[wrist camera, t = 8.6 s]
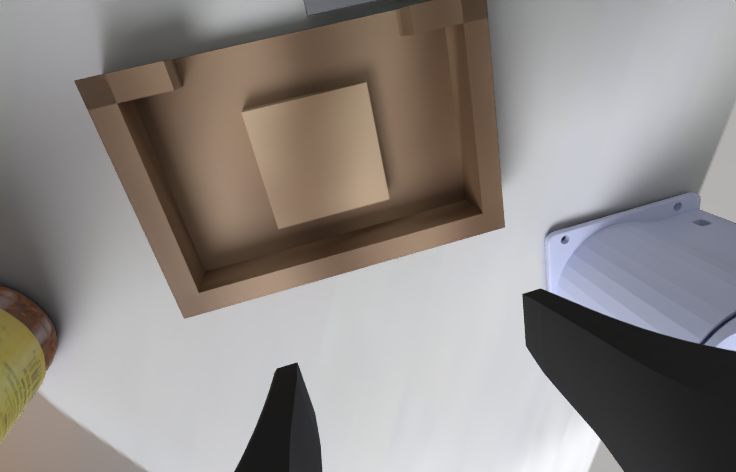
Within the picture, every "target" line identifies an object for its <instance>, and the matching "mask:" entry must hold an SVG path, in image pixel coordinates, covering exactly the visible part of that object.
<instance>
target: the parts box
mask: <svg viewBox="0 0 736 472" xmlns="http://www.w3.org/2000/svg"><path fill="white" fill-rule="evenodd" d="M75 83H76V86H77V88H78V90H79V92H80V94H81V96H82V99H83V101H84V103H85V105H86V107H87V109H88V112H89V114H90V116H91V118H92V120H93V122H94V125H95V127H96V129H97V131H98V133H99V135H100V138H101V140H102V142H103V144H104V146H105V148H106V151H107V153H108V155H109V157H110V159H111V161H112V164H113V166H114V168H115V170H116V172H117V174H118V177H119V179H120V181H121V183H122V185H123V187H124V190H125V192H126V194H127V196H128V198H129V200H130V203H131V205H132V207H133V209H134V211H135V213H136V216H137V218H138V220H139V222H140V224H141V226H142V228H143V231H144V233H145V235H146V237H147V239H148V241H149V244H150V246H151V248H152V250H153V252H154V254H155V257H156V259H157V261H158V263H159V265H160V267H161V270H162V272H163V274H164V276H165V278H166V280H167V283H168V285H169V287H170V289H171V291H172V293H173V296H174V298H175V300H176V302H177V304H178V306H179V309H180V311H181V313H182V315H183V317H184V319H185V318H188V317H192V316H196V315H199V314H203V313H206V312H210V311H213V310H217V309H220V308H224V307H227V306H231V305H234V304H238V303H241V302H245V301H248V300H252V299H255V298H259V297H262V296H266V295H269V294H273V293H276V292H280V291H283V290H287V289H290V288H294V287H297V286H301V285H304V284H308V283H311V282H315V281H318V280H322V279H325V278H329V277H332V276H336V275H339V274H343V273H346V272H350V271H353V270H357V269H360V268H364V267H367V266H371V265H374V264H378V263H381V262H385V261H388V260H392V259H395V258H399V257H402V256H406V255H409V254H413V253H416V252H420V251H423V250H427V249H430V248H434V247H437V246H441V245H444V244H448V243H451V242H455V241H458V240H462V239H465V238H469V237H472V236H476V235H479V234H483V233H486V232H490V231H493V230H497V229H500V228H504V227H505V222H504V210H503V197H502V185H501V173H500V160H499V148H498V136H497V123H496V111H495V99H494V86H493V74H492V62H491V49H490V37H489V25H488V12H487V0H432V1H427V2H423V3H418V4H414V5H410V6H406V7H403V8H399V9H396V10H392V11H387V12H383V13H379V14H374V15H370V16H365V17H361V18H356V19H352V20H347V21H343V22H338V23H334V24H330V25H325V26H321V27H316V28H312V29H307V30H303V31H298V32H294V33H289V34H285V35H281V36H276V37H272V38H267V39H263V40H258V41H254V42H249V43H245V44H240V45H236V46H232V47H227V48H223V49H218V50H214V51H209V52H205V53H200V54H196V55H191V56H187V57H183V58H178V59H173V60H165V61H160V62H155V63H151V64H146V65H142V66H138V67H133V68H129V69H124V70H120V71H115V72H111V73H106V74H102V75H97V76H93V77H88V78H84V79H80V80H75Z"/></svg>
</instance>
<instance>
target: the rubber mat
mask: <svg viewBox="0 0 736 472" xmlns="http://www.w3.org/2000/svg"><path fill="white" fill-rule="evenodd" d="M373 1H378V0H304V4H305V9H306V13H307V16H310V15H314V14H319V13H323V12H328V11H332V10H337V9H341V8H346V7H350V6H355V5H359V4H364V3H368V2H373Z"/></svg>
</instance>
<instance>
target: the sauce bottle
mask: <svg viewBox="0 0 736 472" xmlns="http://www.w3.org/2000/svg"><path fill="white" fill-rule="evenodd" d="M56 347H57V336H56V333H55V327H54V325H53V324H52V322H51V321H50V319H49V317H48V316H47V314H46V313H45V312H44V311H43V310H42V309H40V308H39V306H38V305H37V304H36V303H34V302H33V301H31V300H30V299H29V298H27V297H26V296H24V295H23V294H21V293H20V292H18V291H15V290H13V289H10V288H6V287H4V286H0V444H1V443H2V441H3V440H4V438H5V437H6V435H7V434H8V433H9V431H10V430H11V428H12V427H13V425H14V424H15V422H16V421H17V419H18V418H19V417H20V415H21V414H22V412H23V411H24V409H25V408H26V406H27V405H28V403H29V402H30V401H31V399H32V398H33V396H34V394H35V393H36V392H37V390H38V389H39V387H40V386H41V384H42V382H43V379H44V377H45V374H46V371H47V370H48V368H49V366H50V365H51V363H52V360H53V358H54V355H55V351H56Z"/></svg>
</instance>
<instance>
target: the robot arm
mask: <svg viewBox="0 0 736 472" xmlns="http://www.w3.org/2000/svg"><path fill="white" fill-rule="evenodd" d="M675 204H676V206H675ZM674 206H675V207H674ZM699 207H700V196H699V195H698V194H696V193H693V192H689V193H685V194H682V195H678V196H675V197H671V198H668V199H665V200H661V201H658V202H654V203H651V204H647V205H644V206H640V207H637V208H634V209H630V210H627V211H623V212H620V213H616V214H613V215H609V216H606V217H602V218H599V219H596V220H592V221H589V222H585V223H582V224H578V225H575V226H571V227H568V228H565V229H561V230H558V231H554V232H552V233H550V234H549V235H548V236H547V237H546V240H545V252H546V277H547V291H546V290H543V289H538V290H534V291H531V292H528V293H525V294H523V309H524V324H525V339H526V347H527V348H528V350H529V351H530V353H531V354H532V356H533V358H534V359H535V361H536V362H537V364H538V365H539V367H540V368H541V369H542V371H543V372H544V374H545V375H546V376H547V377H548V378H549V380H550V381H551V382H552V383H553V384H554V385H555V387H556V388H557V389H558V390H559V391H560V392H561V394H562V395H563V396H564V397H565V398H566V399H567V400H568V402H569V403H570V404H571V405H572V406H573V407H574V408H575V410H576V411H577V412H578V413H579V414H580V415H581V416H582V418H583V419H584V420H585V421H586V422H587V423H588V424H589V426H590V427H591V428H592V429H593V430H594V431H595V433H596V434H597V435H598V436H599V438H600V439H601V440H602V441H603V443H604V444H605V445H606V447H607V448H608V450H609V451H610V452H611V454H612V455H613V457H614V458H615V459H616V461H617V462H618V464H619V465H620V466H621V467H622V469H623V471H624V472H736V223H734V222H731V221H728V220H726V219H723V218H721V217H718V216H715V215H713V214H710V213H707V212H704V211H702V210H699ZM563 236H565V239H564V240H563V241H561V239H562V237H563ZM234 472H322V459H321V445H320V439H319V433H318V427H317V422H316V416H315V412H314V409H313V406H312V403H311V400H310V397H309V394H308V392H307V389H306V386H305V383H304V380H303V377H302V374H301V371H300V369H299V366H298V363H294V364H291V365H287V366H284V367H281V368H277V370H276V371H275V373H274V377H273V380H272V384H271V387H270V390H269V393H268V396H267V399H266V402H265V404H264V407H263V410H262V412H261V415H260V417H259V420H258V423H257V425H256V427H255V430H254V432H253V434H252V437H251V439H250V441H249V443H248V445H247V447H246V450H245V452H244V454H243V456H242V458H241V460H240V462H239V464H238V466H237V468H236V470H235V471H234Z"/></svg>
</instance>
